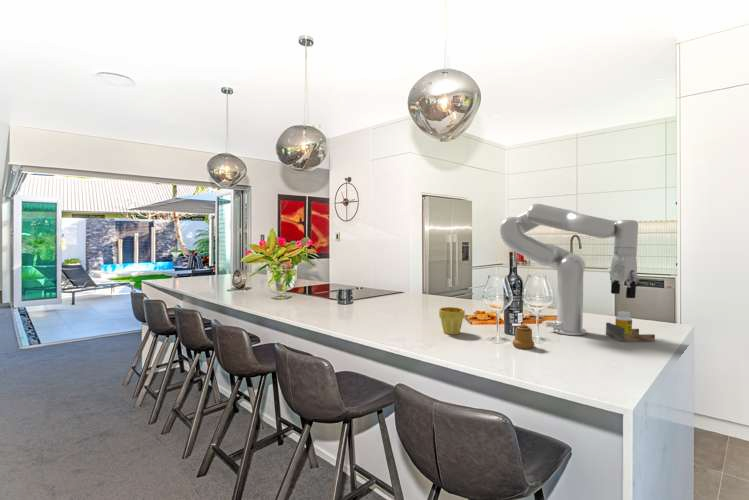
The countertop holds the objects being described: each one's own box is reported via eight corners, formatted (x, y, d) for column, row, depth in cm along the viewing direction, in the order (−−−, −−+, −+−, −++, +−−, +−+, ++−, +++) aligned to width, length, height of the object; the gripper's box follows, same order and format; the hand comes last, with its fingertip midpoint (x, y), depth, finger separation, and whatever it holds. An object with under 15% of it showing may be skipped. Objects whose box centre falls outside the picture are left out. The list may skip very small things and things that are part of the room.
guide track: (637, 334, 167) (637, 322, 166) (654, 341, 157) (655, 328, 156) (605, 334, 166) (606, 322, 166) (620, 341, 156) (621, 328, 156)
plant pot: (453, 337, 164) (454, 312, 163) (433, 332, 171) (433, 309, 171) (469, 332, 170) (469, 309, 170) (449, 328, 178) (449, 306, 178)
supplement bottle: (629, 340, 158) (629, 314, 157) (613, 338, 162) (613, 312, 161) (633, 338, 161) (634, 312, 161) (617, 335, 165) (618, 310, 165)
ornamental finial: (538, 348, 147) (520, 350, 145) (525, 343, 155) (508, 344, 153) (539, 326, 147) (520, 328, 145) (526, 322, 154) (508, 323, 152)
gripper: (603, 250, 169) (600, 291, 170) (629, 253, 151) (626, 299, 152) (621, 250, 169) (618, 292, 170) (649, 253, 151) (647, 299, 152)
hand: (622, 295), depth 161 cm, fingers open, 9 cm apart
